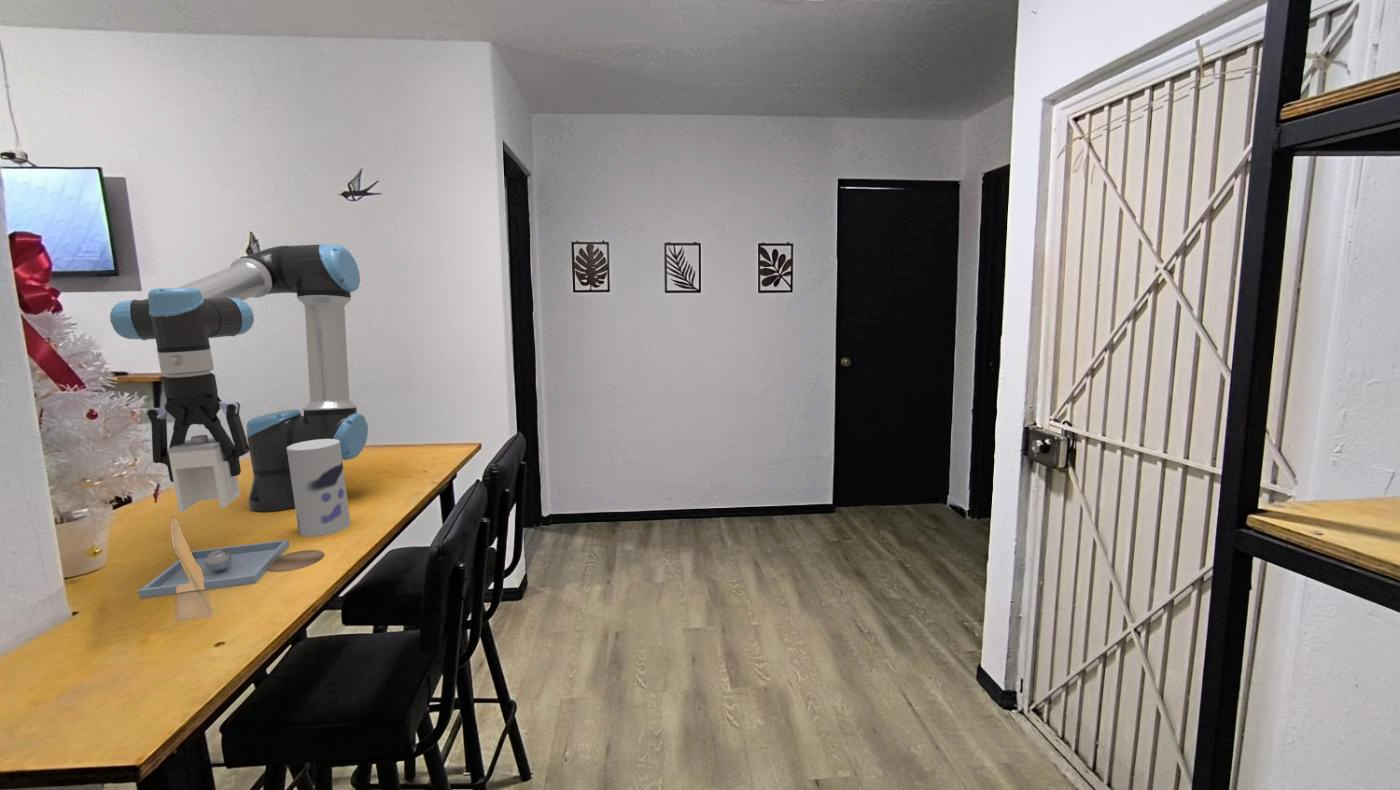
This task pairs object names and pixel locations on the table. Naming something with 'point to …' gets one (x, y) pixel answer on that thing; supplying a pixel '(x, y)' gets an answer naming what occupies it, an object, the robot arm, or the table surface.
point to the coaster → (296, 560)
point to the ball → (218, 561)
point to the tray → (242, 571)
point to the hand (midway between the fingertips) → (209, 494)
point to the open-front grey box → (199, 472)
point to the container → (318, 487)
